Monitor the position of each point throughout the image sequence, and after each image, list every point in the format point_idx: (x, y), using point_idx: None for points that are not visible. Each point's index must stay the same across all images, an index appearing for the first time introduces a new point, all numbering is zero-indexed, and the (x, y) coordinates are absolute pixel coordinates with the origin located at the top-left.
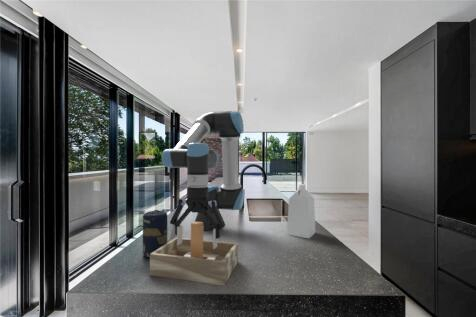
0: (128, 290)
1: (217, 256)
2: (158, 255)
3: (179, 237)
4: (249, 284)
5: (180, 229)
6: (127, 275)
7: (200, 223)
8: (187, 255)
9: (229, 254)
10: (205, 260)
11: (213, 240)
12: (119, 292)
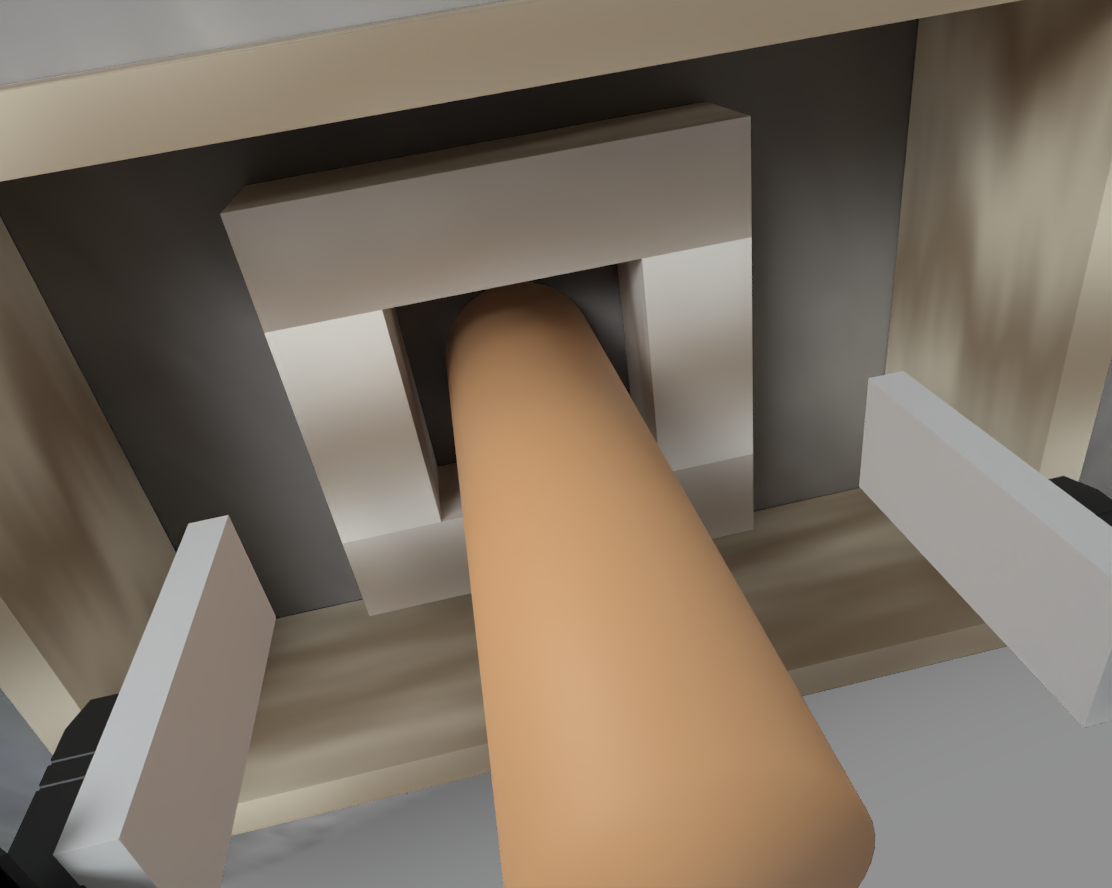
0: (279, 834)
1: (745, 139)
2: (255, 826)
3: (249, 705)
4: (1103, 399)
5: (196, 821)
6: (23, 750)
7: (794, 864)
8: (324, 347)
9: (1077, 444)
10: (833, 688)
11: (945, 566)
12: (250, 866)
